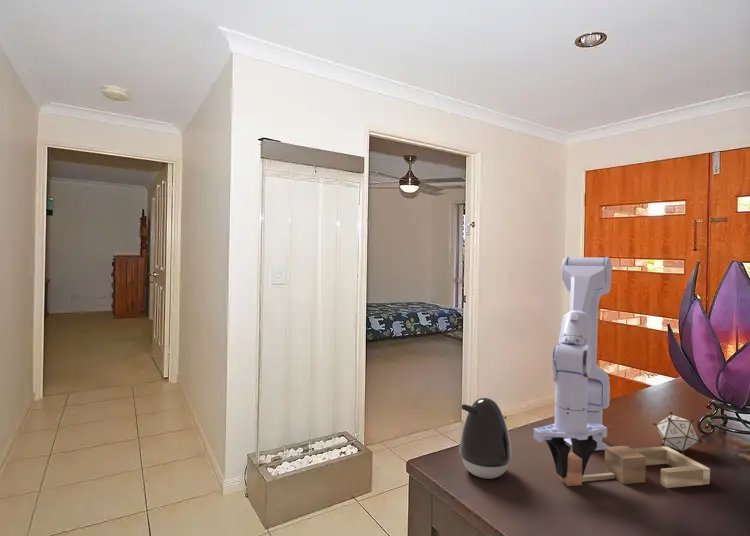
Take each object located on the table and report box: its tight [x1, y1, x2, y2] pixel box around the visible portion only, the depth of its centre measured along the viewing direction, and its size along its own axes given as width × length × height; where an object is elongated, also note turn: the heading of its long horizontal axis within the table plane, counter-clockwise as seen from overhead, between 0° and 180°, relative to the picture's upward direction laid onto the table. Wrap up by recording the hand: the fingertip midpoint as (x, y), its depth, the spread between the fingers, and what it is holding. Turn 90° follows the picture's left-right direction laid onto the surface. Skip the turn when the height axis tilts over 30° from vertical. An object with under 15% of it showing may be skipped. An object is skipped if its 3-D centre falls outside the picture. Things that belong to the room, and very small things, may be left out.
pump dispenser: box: [459, 397, 512, 480], centre depth 87 cm, size 10×10×15 cm
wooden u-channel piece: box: [632, 445, 711, 489], centre depth 87 cm, size 10×10×3 cm
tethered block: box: [557, 445, 647, 487], centre depth 84 cm, size 5×16×5 cm, turn 99°
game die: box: [651, 410, 705, 455], centre depth 98 cm, size 9×8×10 cm
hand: (569, 474), depth 83 cm, fingers open, 3 cm apart
